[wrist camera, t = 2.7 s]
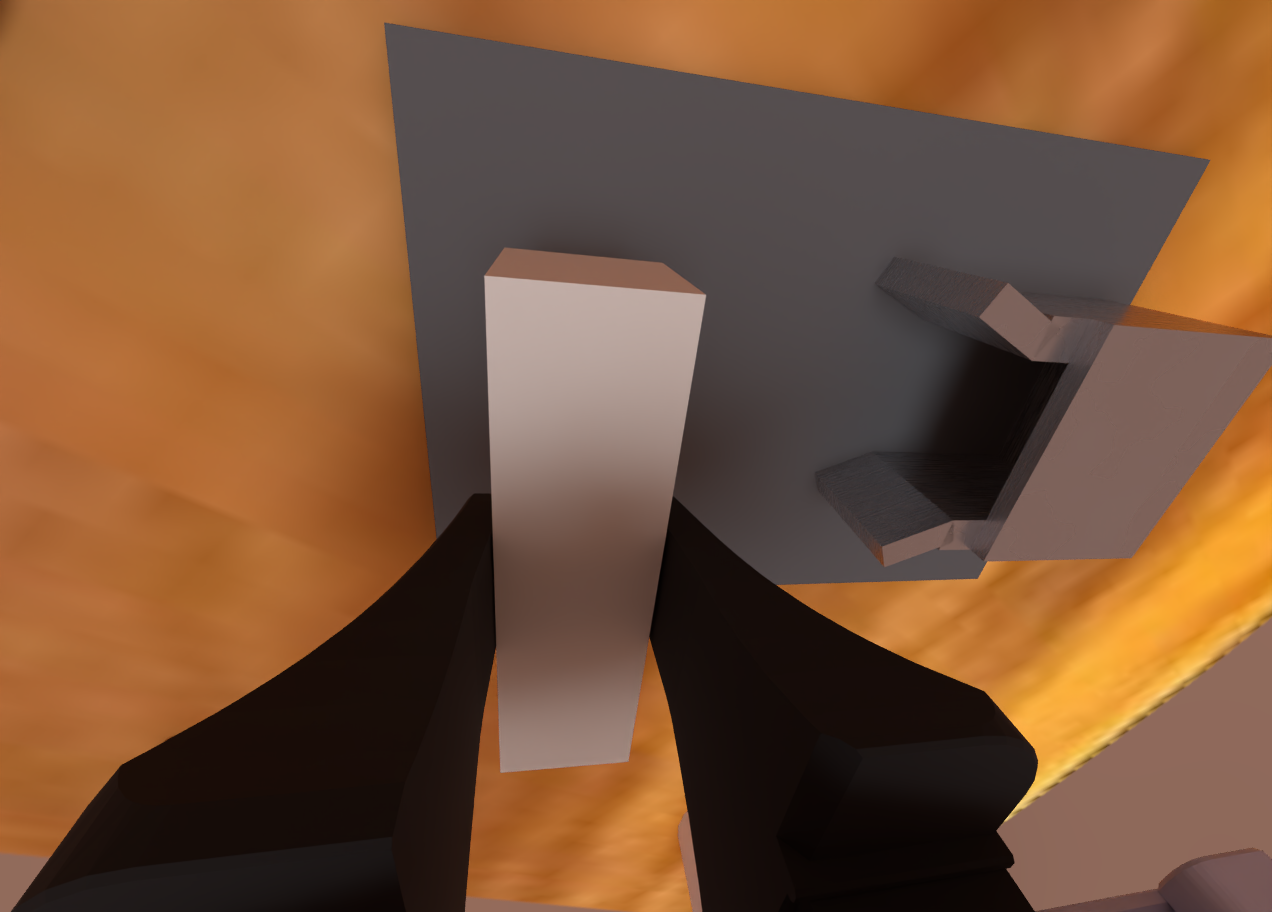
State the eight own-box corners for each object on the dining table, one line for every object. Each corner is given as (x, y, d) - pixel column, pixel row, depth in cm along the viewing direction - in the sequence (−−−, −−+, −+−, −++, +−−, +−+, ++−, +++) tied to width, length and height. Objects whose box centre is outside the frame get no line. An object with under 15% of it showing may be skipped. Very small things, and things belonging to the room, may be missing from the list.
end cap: (1002, 492, 19) (1120, 573, 15) (809, 491, 17) (884, 580, 13) (1115, 280, 15) (1308, 314, 11) (883, 256, 14) (1014, 286, 10)
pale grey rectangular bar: (613, 653, 15) (628, 761, 12) (510, 658, 14) (500, 773, 12) (662, 263, 10) (705, 295, 7) (504, 247, 9) (484, 275, 6)
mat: (970, 572, 21) (977, 578, 21) (444, 586, 17) (442, 594, 17) (1194, 160, 14) (1210, 159, 14) (389, 28, 10) (384, 23, 10)
